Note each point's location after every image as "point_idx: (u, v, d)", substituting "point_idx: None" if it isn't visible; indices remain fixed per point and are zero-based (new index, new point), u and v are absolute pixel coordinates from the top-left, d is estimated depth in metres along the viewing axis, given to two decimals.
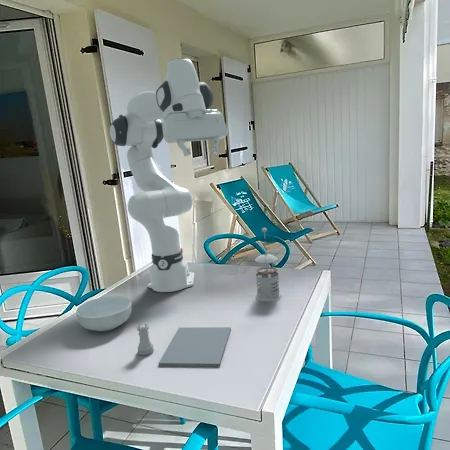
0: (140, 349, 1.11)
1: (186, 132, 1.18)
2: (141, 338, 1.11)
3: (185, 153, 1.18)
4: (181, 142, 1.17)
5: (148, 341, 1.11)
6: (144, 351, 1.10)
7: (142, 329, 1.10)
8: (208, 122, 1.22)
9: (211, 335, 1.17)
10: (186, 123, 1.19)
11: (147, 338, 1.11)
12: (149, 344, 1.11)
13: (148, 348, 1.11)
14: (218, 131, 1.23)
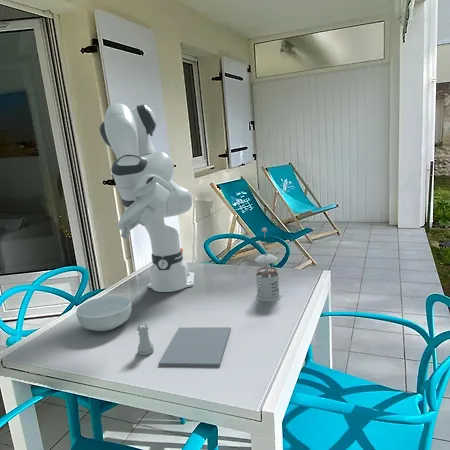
0: (140, 349, 1.11)
1: None
2: (141, 338, 1.11)
3: (145, 221, 1.07)
4: (152, 213, 1.09)
5: (148, 341, 1.11)
6: (144, 351, 1.10)
7: (142, 329, 1.10)
8: None
9: (211, 335, 1.17)
10: None
11: (147, 338, 1.11)
12: (149, 344, 1.11)
13: (148, 348, 1.11)
14: None
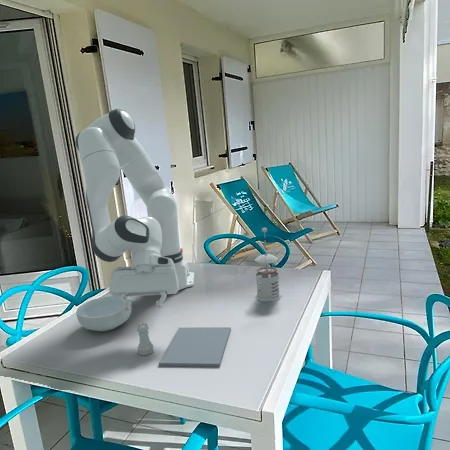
0: (140, 349, 1.11)
1: None
2: (141, 338, 1.11)
3: (161, 306, 1.17)
4: None
5: (148, 341, 1.11)
6: (144, 351, 1.10)
7: (142, 329, 1.10)
8: None
9: (211, 335, 1.17)
10: None
11: (147, 338, 1.11)
12: (149, 344, 1.11)
13: (148, 348, 1.11)
14: None
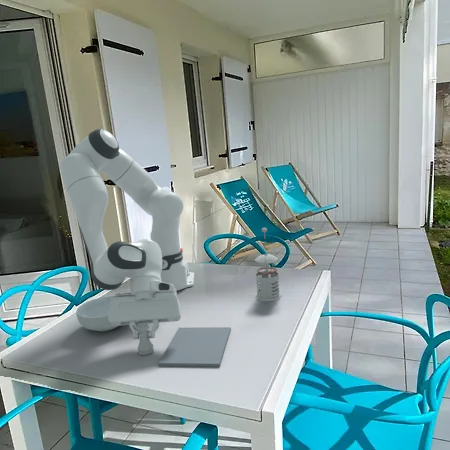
0: (140, 349, 1.11)
1: None
2: (141, 338, 1.11)
3: (154, 335, 1.12)
4: None
5: (148, 341, 1.11)
6: (144, 351, 1.10)
7: (142, 329, 1.10)
8: None
9: (211, 335, 1.17)
10: None
11: (147, 338, 1.11)
12: (149, 344, 1.11)
13: (148, 348, 1.11)
14: None
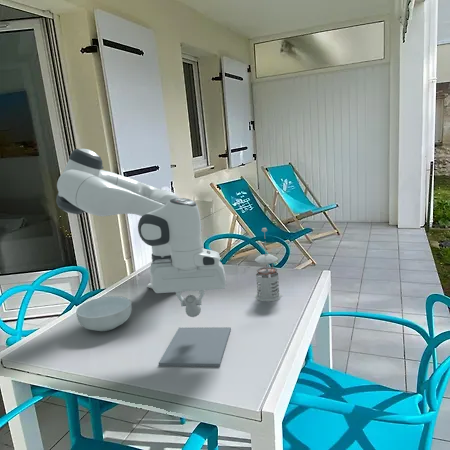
0: (189, 313, 1.16)
1: None
2: (189, 307, 1.14)
3: (201, 302, 1.14)
4: None
5: (196, 307, 1.15)
6: None
7: (191, 304, 1.11)
8: None
9: (211, 335, 1.17)
10: None
11: (195, 306, 1.14)
12: (197, 309, 1.15)
13: (196, 312, 1.16)
14: None
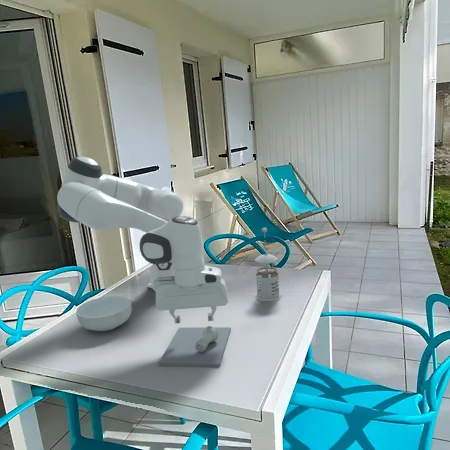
0: (205, 329, 1.12)
1: None
2: (202, 337, 1.10)
3: (213, 317, 1.15)
4: None
5: None
6: None
7: (196, 344, 1.08)
8: None
9: None
10: None
11: None
12: None
13: None
14: None
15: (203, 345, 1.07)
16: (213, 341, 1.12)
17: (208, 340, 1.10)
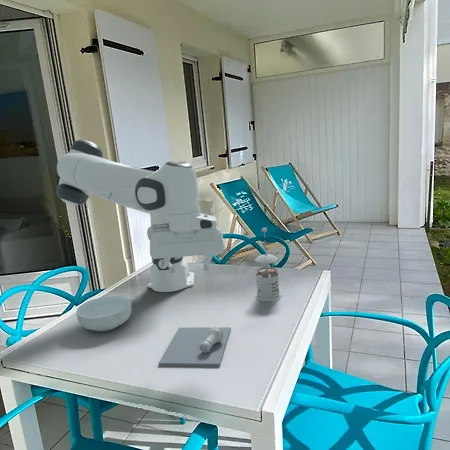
0: (215, 330, 1.11)
1: None
2: (209, 338, 1.09)
3: None
4: None
5: None
6: (213, 329, 1.12)
7: (202, 343, 1.07)
8: None
9: None
10: None
11: None
12: (208, 335, 1.12)
13: (209, 331, 1.12)
14: None
15: (208, 349, 1.07)
16: None
17: (213, 344, 1.09)
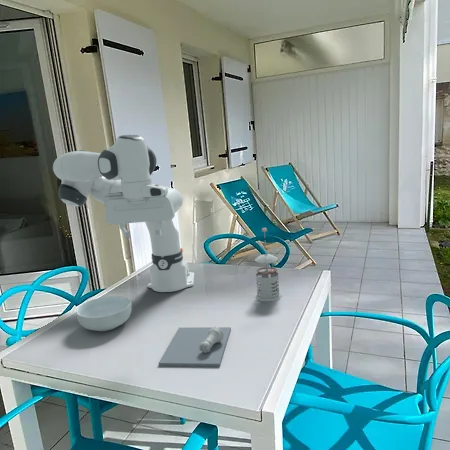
0: (215, 330, 1.11)
1: None
2: (209, 338, 1.09)
3: (161, 233, 1.23)
4: None
5: None
6: (213, 329, 1.12)
7: (202, 343, 1.07)
8: None
9: None
10: None
11: None
12: (208, 335, 1.12)
13: (209, 331, 1.12)
14: None
15: (208, 349, 1.07)
16: None
17: (213, 344, 1.09)
